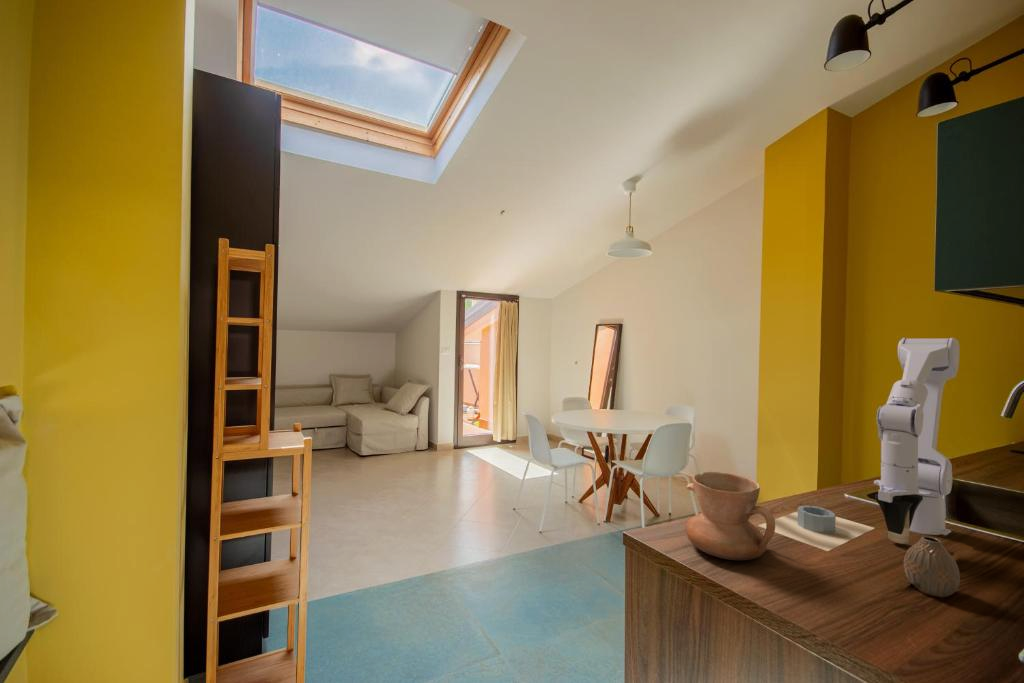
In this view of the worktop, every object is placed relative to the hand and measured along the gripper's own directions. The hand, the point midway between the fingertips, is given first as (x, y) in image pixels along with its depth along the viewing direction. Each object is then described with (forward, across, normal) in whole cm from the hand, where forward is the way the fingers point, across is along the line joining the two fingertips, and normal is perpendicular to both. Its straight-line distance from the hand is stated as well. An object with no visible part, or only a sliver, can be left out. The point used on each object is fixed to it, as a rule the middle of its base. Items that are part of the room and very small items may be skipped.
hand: (898, 530), depth 91 cm
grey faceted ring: (+3, +5, -13) cm, 14 cm away
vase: (+4, +15, +9) cm, 18 cm away
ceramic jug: (+4, +32, -17) cm, 37 cm away
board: (+4, +5, -13) cm, 14 cm away
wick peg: (+2, 0, 0) cm, 2 cm away
